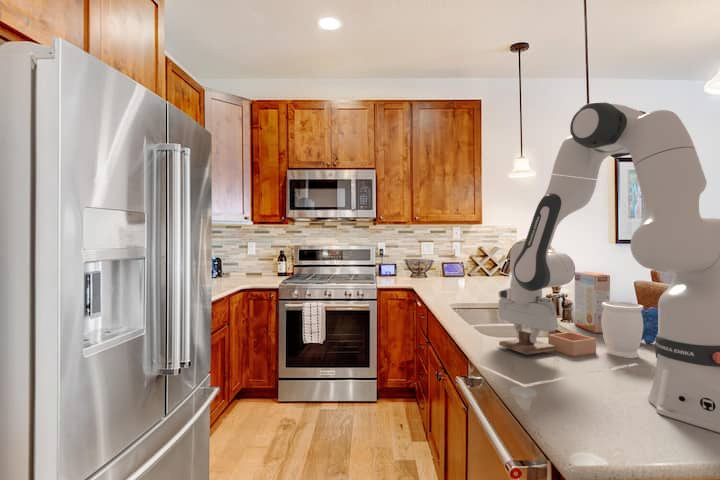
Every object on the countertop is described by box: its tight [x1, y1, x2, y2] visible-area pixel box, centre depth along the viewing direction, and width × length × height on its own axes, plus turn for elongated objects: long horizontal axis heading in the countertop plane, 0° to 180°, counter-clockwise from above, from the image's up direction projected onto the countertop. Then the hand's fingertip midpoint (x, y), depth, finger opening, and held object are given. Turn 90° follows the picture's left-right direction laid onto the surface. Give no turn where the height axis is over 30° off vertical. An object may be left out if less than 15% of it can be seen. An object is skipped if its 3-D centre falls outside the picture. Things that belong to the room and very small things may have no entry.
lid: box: [498, 330, 555, 355], centre depth 123 cm, size 11×11×5 cm
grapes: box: [641, 306, 658, 345], centre depth 133 cm, size 12×7×12 cm, turn 49°
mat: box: [497, 346, 558, 360], centre depth 124 cm, size 12×12×1 cm
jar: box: [601, 301, 644, 359], centre depth 121 cm, size 11×10×15 cm
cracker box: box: [573, 271, 611, 334], centre depth 153 cm, size 14×6×21 cm, turn 179°
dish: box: [547, 331, 597, 358], centre depth 123 cm, size 9×9×5 cm
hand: (526, 340), depth 123 cm, fingers closed on lid, 3 cm apart
